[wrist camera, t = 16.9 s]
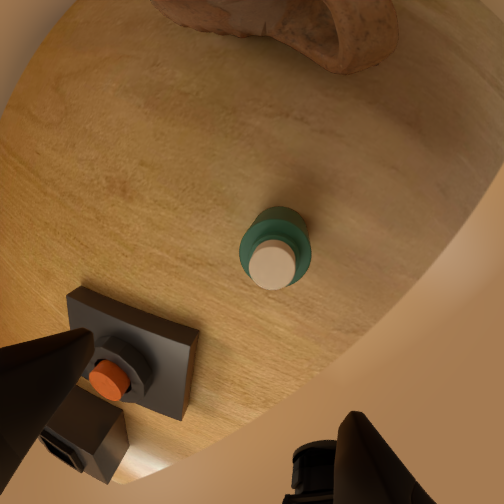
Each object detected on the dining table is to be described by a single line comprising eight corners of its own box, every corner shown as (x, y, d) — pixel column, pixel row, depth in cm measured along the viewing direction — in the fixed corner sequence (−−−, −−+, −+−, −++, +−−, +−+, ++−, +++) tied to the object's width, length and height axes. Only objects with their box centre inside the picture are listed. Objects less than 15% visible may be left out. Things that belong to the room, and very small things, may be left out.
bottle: (315, 217, 17) (326, 244, 11) (296, 267, 19) (296, 316, 12) (261, 198, 18) (243, 215, 11) (245, 250, 19) (221, 291, 13)
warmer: (122, 409, 27) (88, 461, 18) (129, 446, 30) (105, 489, 21) (51, 369, 28) (13, 407, 19) (65, 411, 31) (37, 446, 22)
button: (129, 368, 19) (119, 382, 17) (131, 393, 20) (122, 406, 18) (97, 353, 19) (86, 365, 18) (101, 378, 20) (91, 390, 19)
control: (199, 330, 21) (182, 360, 17) (188, 406, 24) (175, 434, 21) (80, 285, 22) (52, 303, 18) (89, 363, 25) (69, 384, 21)
